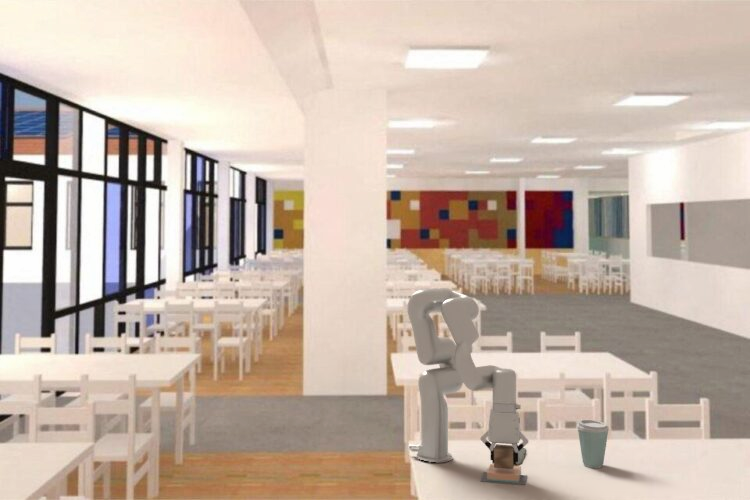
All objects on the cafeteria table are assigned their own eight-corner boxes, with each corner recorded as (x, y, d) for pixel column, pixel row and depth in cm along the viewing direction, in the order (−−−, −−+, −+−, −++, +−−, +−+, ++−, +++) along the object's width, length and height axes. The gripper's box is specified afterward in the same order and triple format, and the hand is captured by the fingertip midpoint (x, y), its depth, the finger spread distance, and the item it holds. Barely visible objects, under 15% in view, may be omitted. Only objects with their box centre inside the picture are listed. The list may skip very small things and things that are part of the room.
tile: (490, 471, 243) (487, 480, 233) (490, 464, 243) (487, 472, 233) (521, 473, 240) (518, 482, 231) (521, 466, 240) (518, 475, 231)
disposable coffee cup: (610, 463, 254) (610, 420, 254) (606, 471, 244) (606, 426, 244) (579, 459, 258) (579, 417, 258) (574, 467, 248) (574, 423, 248)
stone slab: (492, 468, 254) (521, 466, 250) (491, 460, 254) (520, 458, 251) (501, 452, 275) (528, 451, 272) (501, 444, 275) (527, 443, 272)
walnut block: (493, 467, 235) (493, 448, 235) (495, 462, 240) (495, 444, 240) (512, 469, 233) (512, 450, 233) (514, 463, 239) (514, 445, 239)
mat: (480, 481, 233) (480, 480, 233) (484, 472, 242) (484, 471, 242) (525, 485, 229) (525, 484, 229) (527, 476, 239) (527, 475, 239)
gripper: (532, 406, 238) (532, 462, 238) (479, 403, 243) (479, 458, 243) (530, 411, 231) (530, 468, 231) (476, 408, 235) (476, 464, 235)
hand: (504, 462), depth 237 cm, fingers closed on walnut block, 6 cm apart
